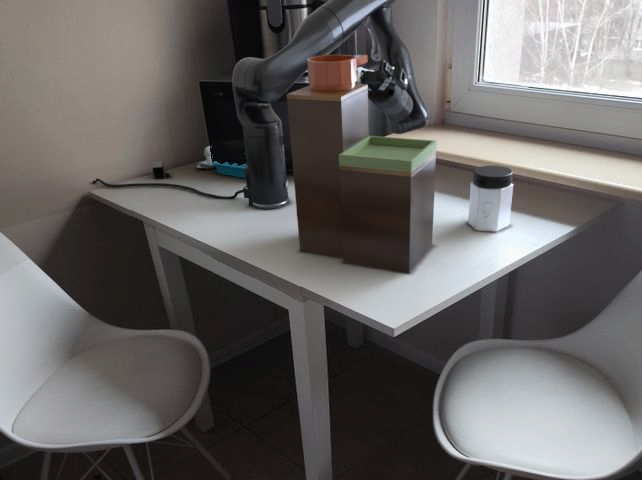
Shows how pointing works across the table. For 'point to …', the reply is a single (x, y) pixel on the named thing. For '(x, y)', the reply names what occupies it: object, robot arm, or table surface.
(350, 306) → the table surface
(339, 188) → the stand
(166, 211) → the table surface
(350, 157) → the tray
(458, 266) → the table surface
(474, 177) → the jar
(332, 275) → the table surface
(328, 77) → the saucepan
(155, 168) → the wireless earbuds
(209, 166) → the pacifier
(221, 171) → the ice cube tray
